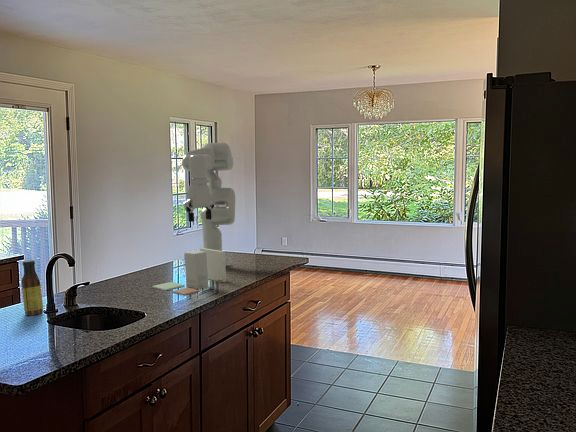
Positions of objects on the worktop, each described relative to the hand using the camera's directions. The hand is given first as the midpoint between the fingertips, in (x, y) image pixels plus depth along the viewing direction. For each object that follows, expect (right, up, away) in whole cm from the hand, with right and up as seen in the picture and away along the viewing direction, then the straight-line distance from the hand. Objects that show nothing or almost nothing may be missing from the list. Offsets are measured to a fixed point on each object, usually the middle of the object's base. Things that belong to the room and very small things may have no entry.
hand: (200, 220), depth 239 cm
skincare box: (0, -29, -6) cm, 30 cm away
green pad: (-13, -29, -5) cm, 33 cm away
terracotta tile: (-3, -30, -15) cm, 34 cm away
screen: (+5, -28, +7) cm, 29 cm away
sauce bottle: (-54, -34, -43) cm, 78 cm away
